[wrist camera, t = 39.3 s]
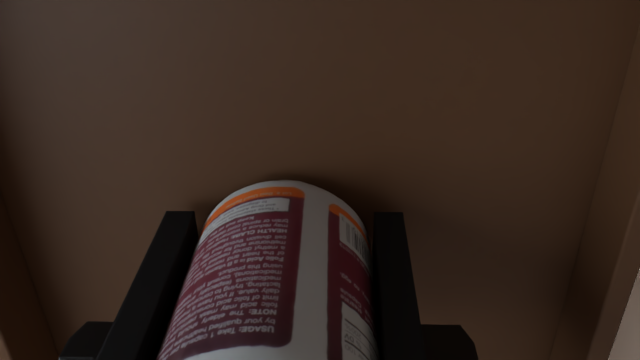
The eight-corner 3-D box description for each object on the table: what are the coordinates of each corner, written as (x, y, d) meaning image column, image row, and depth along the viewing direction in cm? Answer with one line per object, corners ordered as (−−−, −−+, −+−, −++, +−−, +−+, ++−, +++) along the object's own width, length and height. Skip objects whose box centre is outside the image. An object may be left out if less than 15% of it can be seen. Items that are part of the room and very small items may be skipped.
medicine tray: (74, 410, 21) (43, 476, 19) (-108, -97, 13) (-205, -84, 10) (540, 421, 21) (563, 491, 19) (689, -109, 12) (767, -98, 10)
